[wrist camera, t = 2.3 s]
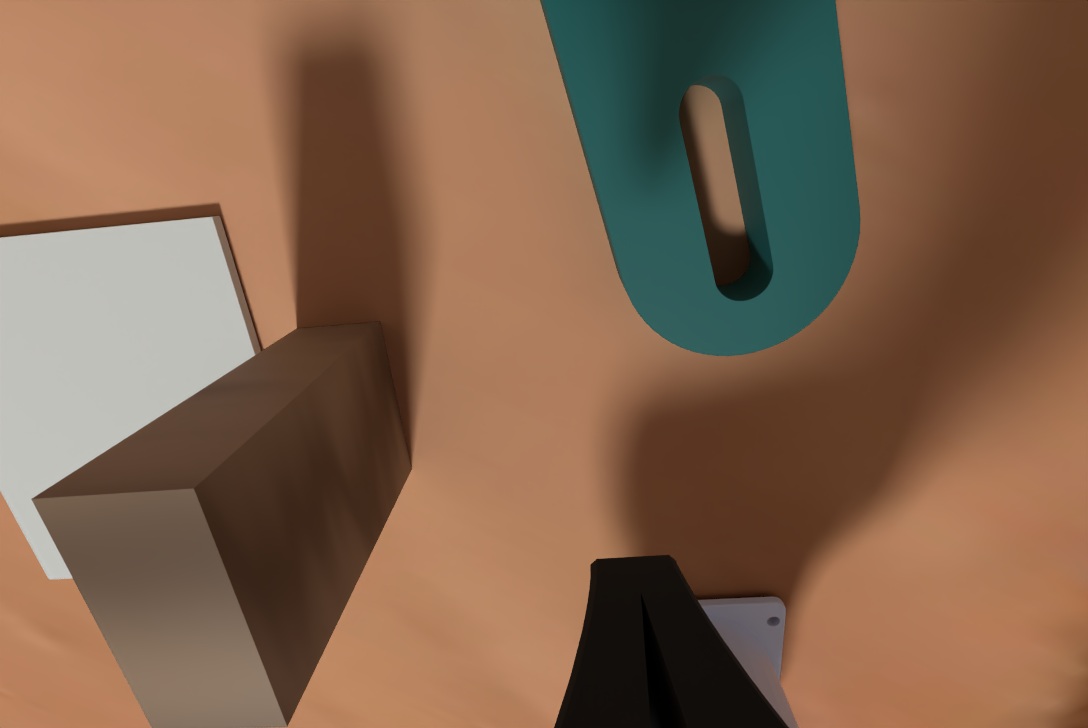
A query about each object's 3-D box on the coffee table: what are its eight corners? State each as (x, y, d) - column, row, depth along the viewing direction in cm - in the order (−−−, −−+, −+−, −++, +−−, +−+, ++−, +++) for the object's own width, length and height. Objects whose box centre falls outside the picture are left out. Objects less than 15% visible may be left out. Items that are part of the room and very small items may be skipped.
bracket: (452, -308, 13) (304, -930, 5) (730, -448, 12) (1006, -1438, 4) (641, 356, 19) (692, 483, 12) (836, 299, 18) (1027, 398, 11)
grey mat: (324, 558, 22) (320, 564, 22) (57, 572, 23) (48, 579, 23) (219, 215, 17) (212, 217, 17) (-118, 248, 18) (-132, 250, 18)
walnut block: (411, 469, 21) (287, 726, 11) (336, 474, 21) (154, 731, 11) (380, 321, 18) (193, 488, 9) (296, 328, 19) (31, 498, 9)
